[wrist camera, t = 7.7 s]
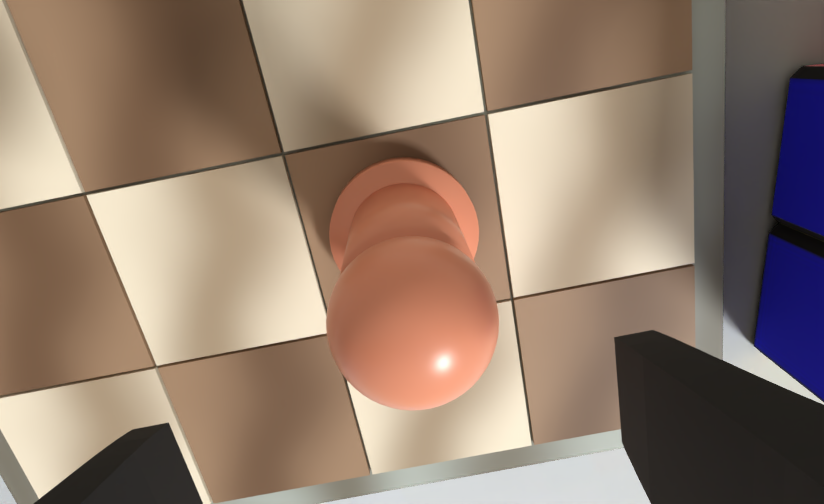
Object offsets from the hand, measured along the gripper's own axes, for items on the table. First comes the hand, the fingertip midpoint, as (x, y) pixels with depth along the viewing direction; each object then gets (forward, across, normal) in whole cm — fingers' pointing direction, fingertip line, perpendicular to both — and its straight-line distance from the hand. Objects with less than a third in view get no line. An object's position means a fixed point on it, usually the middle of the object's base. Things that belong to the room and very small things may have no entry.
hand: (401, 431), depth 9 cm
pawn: (+9, 0, -1) cm, 9 cm away
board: (+10, +3, -1) cm, 10 cm away
